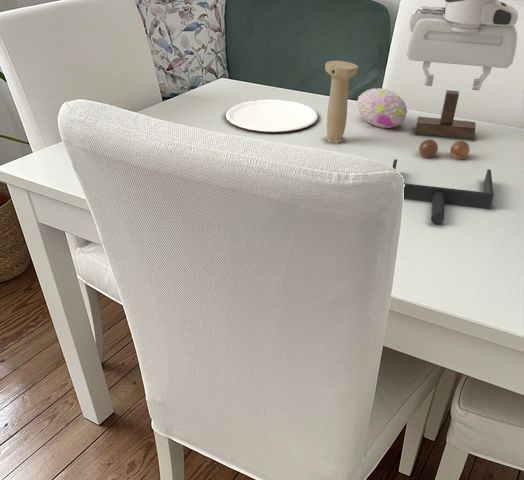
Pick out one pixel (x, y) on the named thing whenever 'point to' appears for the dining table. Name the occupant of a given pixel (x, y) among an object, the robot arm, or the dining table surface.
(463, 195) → the dustpan
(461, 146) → the crumb
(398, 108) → the decorative item
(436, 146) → the crumb
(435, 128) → the brush
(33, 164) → the dining table surface
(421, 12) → the robot arm
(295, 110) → the plate
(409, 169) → the dining table surface
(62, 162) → the dining table surface
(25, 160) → the dining table surface
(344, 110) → the handle
